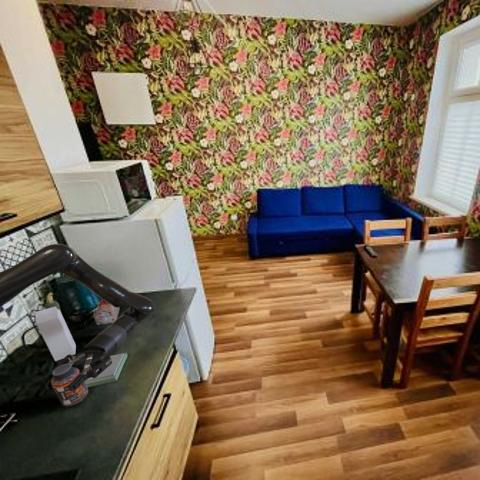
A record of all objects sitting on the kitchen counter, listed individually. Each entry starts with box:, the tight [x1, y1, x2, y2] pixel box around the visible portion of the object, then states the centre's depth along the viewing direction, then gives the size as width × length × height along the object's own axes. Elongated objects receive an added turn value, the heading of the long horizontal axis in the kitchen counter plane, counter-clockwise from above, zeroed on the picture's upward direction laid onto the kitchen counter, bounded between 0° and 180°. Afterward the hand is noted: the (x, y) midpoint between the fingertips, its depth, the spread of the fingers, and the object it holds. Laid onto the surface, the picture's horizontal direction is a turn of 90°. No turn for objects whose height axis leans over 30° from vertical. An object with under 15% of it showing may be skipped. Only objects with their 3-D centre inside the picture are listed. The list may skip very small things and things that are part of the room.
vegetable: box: [44, 292, 69, 328], centre depth 115 cm, size 4×4×20 cm
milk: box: [33, 307, 77, 362], centre depth 102 cm, size 6×6×22 cm
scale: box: [81, 352, 129, 388], centre depth 98 cm, size 12×12×3 cm
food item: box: [93, 298, 121, 326], centre depth 125 cm, size 14×8×10 cm, turn 28°
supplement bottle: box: [51, 364, 89, 407], centre depth 75 cm, size 6×6×11 cm
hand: (59, 388), depth 72 cm, fingers closed on supplement bottle, 6 cm apart
